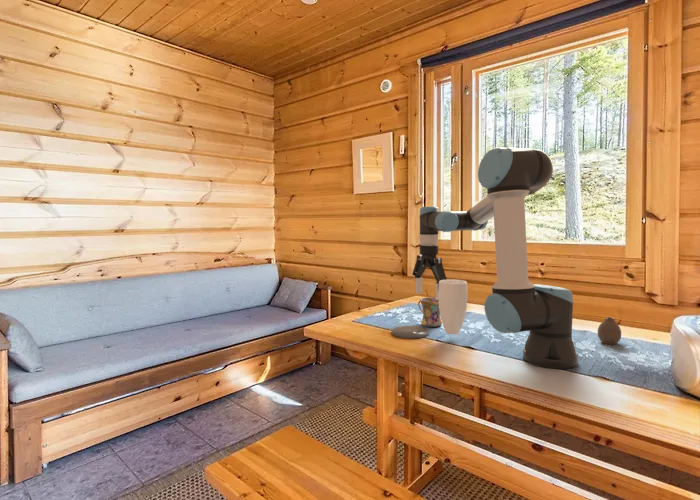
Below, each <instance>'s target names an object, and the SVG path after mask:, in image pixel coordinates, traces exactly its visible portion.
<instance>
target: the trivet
mask: <svg viewBox="0 0 700 500" xmlns="http://www.w3.org/2000/svg"><path fill="white" fill-rule="evenodd" d="M391 334H392V335H393V336H395V337H396V338H402V339H409V340H410V339H411V340H412V339H413V340H414V339H415V340H416V339H422V338H426V337H427V336H428V335H429V330H428V329H427V328H425V327H422V326H415V325H402V326H397V327H394V328H392V329H391Z"/></svg>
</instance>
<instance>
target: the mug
mask: <svg viewBox="0 0 700 500" xmlns="http://www.w3.org/2000/svg"><path fill="white" fill-rule="evenodd" d="M417 305H418V308H419V310H420V311H421V313H422V320H421V321H420V323H421V325H422V326H426V327H429V328H431V327H432V328H434V327H435V328H436V327H440V326H441V325H442V326H443V323H442V320H441V316H440V311H439V300H436V297H423V298H419V301H418V302H417ZM421 306H422V307H421Z"/></svg>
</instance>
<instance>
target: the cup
mask: <svg viewBox="0 0 700 500" xmlns="http://www.w3.org/2000/svg"><path fill="white" fill-rule="evenodd" d="M438 300H439V311H440V319H441V322H442V326H443V328H444V331H445V333H446V334H448V335H459V333H460V332H461V330H462V327H463V324H464V321H465V318H466V313H467V308H468V282H467V281H466V280H462V279H453V278H452V279H451V278H449V279H447V278H446V280H440V281H439V290H438Z"/></svg>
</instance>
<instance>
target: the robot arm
mask: <svg viewBox="0 0 700 500" xmlns="http://www.w3.org/2000/svg"><path fill="white" fill-rule="evenodd" d="M482 157H483V158H482V159H481V160H480V162H479V166H478V171H477V180H478V182H479V183H480V185H481V187H482V188H484V189H487V191H486V192H487V193H486V194H487V195H486V196H485V197H484V198H482V199H481V200H480V201H479V202H477V203H476V204H475V205H474V206H472V207H471V208H469V209H468V210H465V211H464V210H461V211H459V210H458V211H456V210H455V211H452V210H451V211H449V210H447V211H444V210H443V211H439V209H440V208H439V207H438V206H421V207H420V209H419V244H420V245H419V254H417V255H416V260H415V263H414V267H413V271H412V276H414V278H415V294H423V275H424V272H425V271H426V268H428V269H429V270H431V272H432V274H433V276H434V279H435V281H436V282H435V298H436V300H438V290H439V281H440V280H446V279H447V276H446V273H445V269H444V266H443V258H442V257H437V255H439V245H438V244H439V232H443V233H450V232H457V231H459V232H461V231H473V232H475V231H481V230H484V229H485V228H487V225H488V222H489V221H490V220H491V219H493V222H494V244H495V267H496V282H495V283H494V284H493V285H491V289H492V290H491V292H492V293H491V294H489V295H488V296H487V297H486V300H485V301H484V305H483V306H484V313H485V317H486V319H487V321H488V323H489V324H490V325H491V326H492V328H493V329H494V330H496V331H497V332H499V333H501V334H518V333H521V332H529V334H528V336H527V339H526V340H525V341H526V342H525V344H524V347H523V349H522V352H523V353H522V358H523V360H525V361H526V362H527V363H529V364H532V365H535V366H539V367H542V368H547V369H559V370H560V369H561V370H563V369H572V368H575V367H576V366H578V360H579V358H578V354H577V351H576V347H575V345H574V341H573V335H572V334H573V332H572V331H573V316H574V315H573V312H574V297H573V292H572V291H571V289H568V288H565V287H560V286H555V285H554V286H553V285H546V284H541V283H540V284H538V283H536V284H535V283H534V284H533V283H532V282H530V280H529V269H528V268H529V267H528V265H529V264H528V249H527V248H528V247H527V228H526V223H527V222H526V207H525V205H526V204H525V199H526V197H527V196H532V195H533V194H536V193H537V192H538V191H540V190H541V189H543V188H544V187H545V186H547V184H548V182H549V181H550V180H551V178H552V176H553V172H554V166H553V161H552V159H551V157H550V156H549V155H548V154H547V153H546V152H544V151H543V150H541V149H539V148H538V149H537V148H523V147H522V148H521V147H508V146H504V147H493V148H491V149H489V150H488V151H487V152H486V153H485V154H484V155H483V156H482Z"/></svg>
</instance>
